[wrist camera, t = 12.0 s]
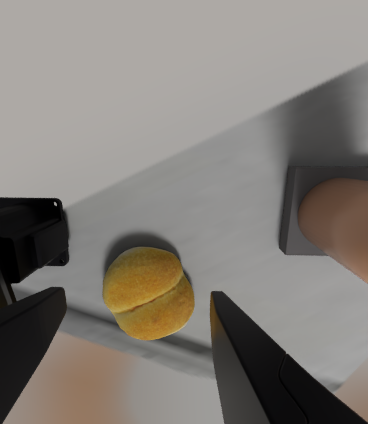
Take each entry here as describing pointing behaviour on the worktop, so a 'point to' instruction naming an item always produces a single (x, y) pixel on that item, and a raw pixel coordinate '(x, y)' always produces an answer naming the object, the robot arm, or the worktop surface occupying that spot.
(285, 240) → the plate
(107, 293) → the bread roll
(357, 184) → the peach cylinder
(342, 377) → the worktop surface
